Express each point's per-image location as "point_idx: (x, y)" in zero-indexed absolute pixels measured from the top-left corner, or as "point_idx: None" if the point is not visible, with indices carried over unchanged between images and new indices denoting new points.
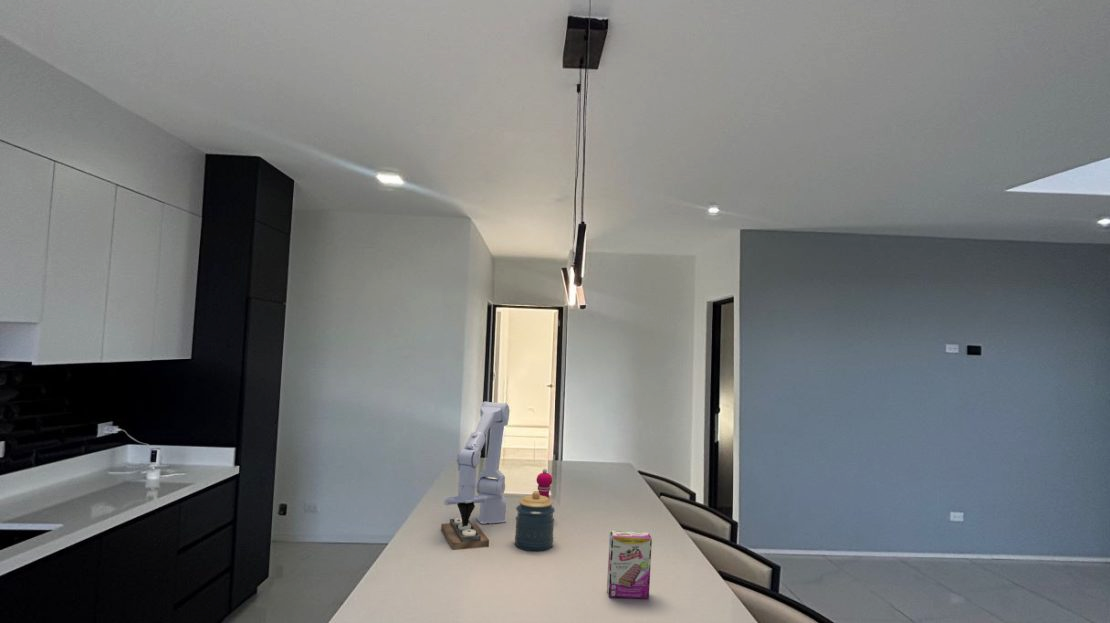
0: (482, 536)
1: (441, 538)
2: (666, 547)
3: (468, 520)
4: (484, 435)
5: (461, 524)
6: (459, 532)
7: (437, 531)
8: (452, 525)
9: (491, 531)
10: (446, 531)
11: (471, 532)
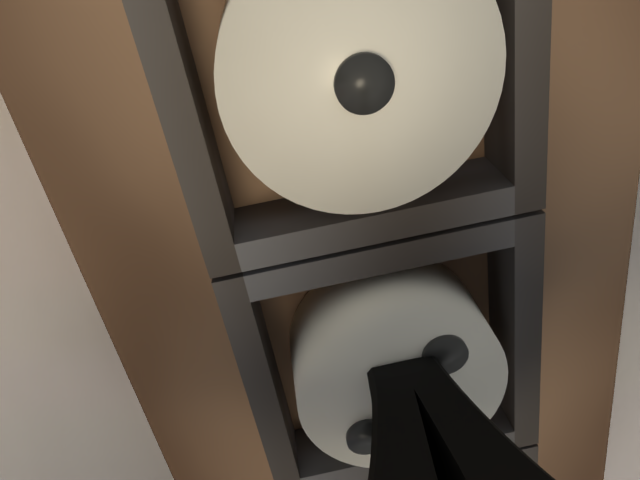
0: (89, 123)
1: (632, 259)
2: None
3: (374, 430)
4: None
5: None
6: (527, 133)
7: (612, 437)
8: None
9: (28, 468)
10: (614, 330)
11: (315, 10)
